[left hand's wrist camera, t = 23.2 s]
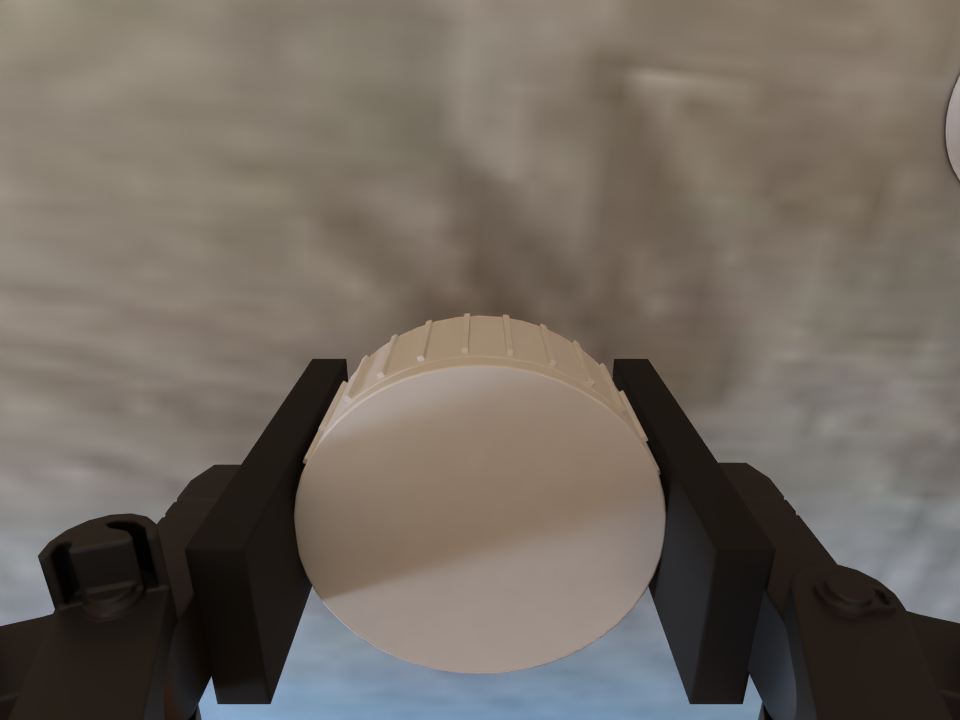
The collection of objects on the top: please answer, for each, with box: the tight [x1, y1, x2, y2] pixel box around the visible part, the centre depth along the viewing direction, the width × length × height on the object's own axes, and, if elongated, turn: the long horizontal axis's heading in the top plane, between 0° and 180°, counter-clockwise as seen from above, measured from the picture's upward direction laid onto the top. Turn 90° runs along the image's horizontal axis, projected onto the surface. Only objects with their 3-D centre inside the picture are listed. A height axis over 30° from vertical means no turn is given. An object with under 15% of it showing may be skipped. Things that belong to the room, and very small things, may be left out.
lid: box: [294, 313, 666, 674], centre depth 11 cm, size 6×6×2 cm
